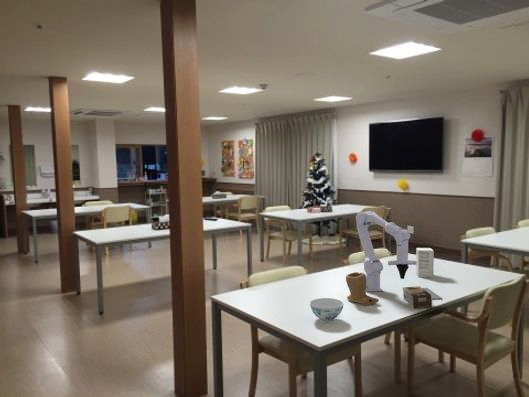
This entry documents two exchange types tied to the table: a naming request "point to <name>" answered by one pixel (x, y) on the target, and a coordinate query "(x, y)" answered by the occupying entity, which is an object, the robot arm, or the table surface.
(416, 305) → the coffee box
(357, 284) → the brown boot shaped vase
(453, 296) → the table surface
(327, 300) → the chinaware
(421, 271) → the supplement box
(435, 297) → the mat
